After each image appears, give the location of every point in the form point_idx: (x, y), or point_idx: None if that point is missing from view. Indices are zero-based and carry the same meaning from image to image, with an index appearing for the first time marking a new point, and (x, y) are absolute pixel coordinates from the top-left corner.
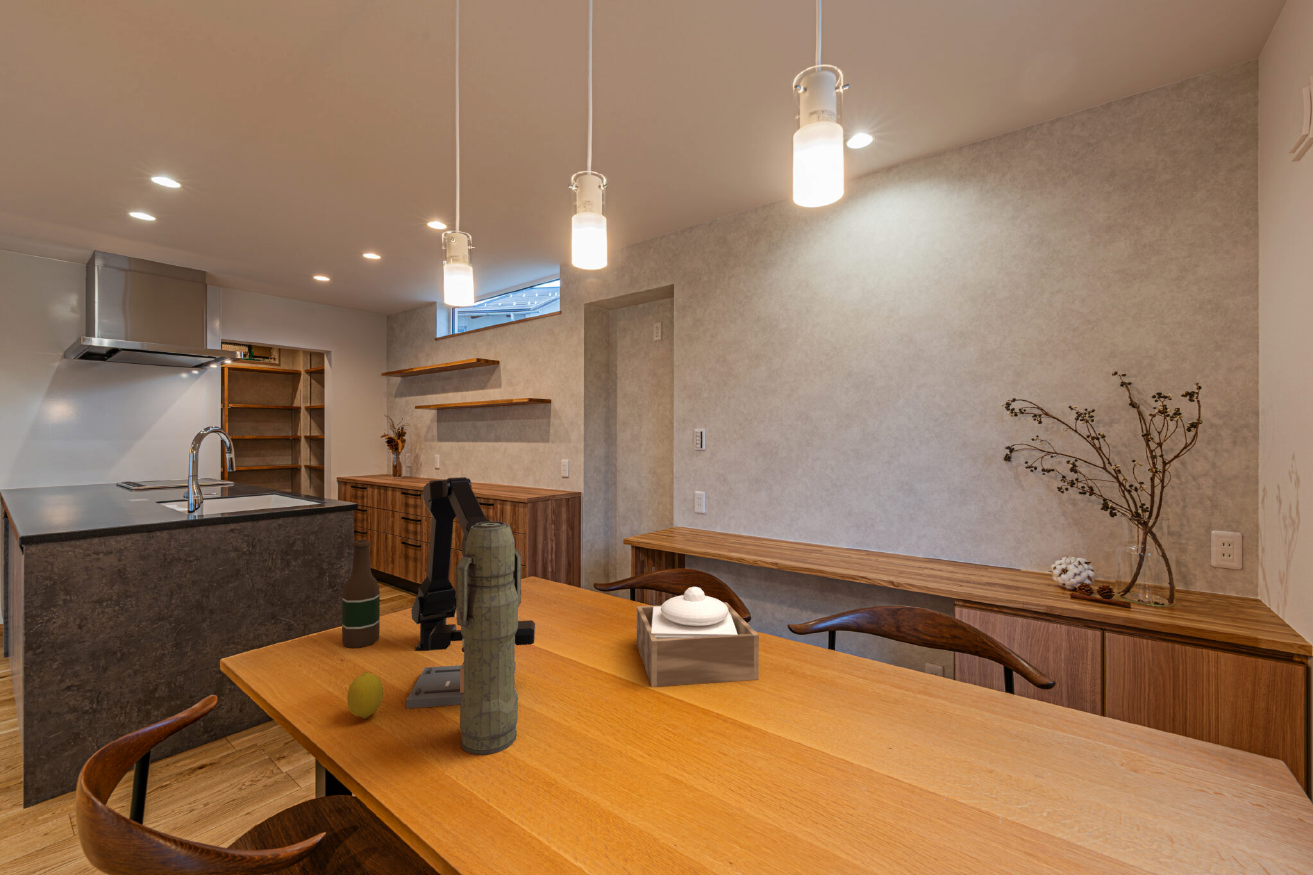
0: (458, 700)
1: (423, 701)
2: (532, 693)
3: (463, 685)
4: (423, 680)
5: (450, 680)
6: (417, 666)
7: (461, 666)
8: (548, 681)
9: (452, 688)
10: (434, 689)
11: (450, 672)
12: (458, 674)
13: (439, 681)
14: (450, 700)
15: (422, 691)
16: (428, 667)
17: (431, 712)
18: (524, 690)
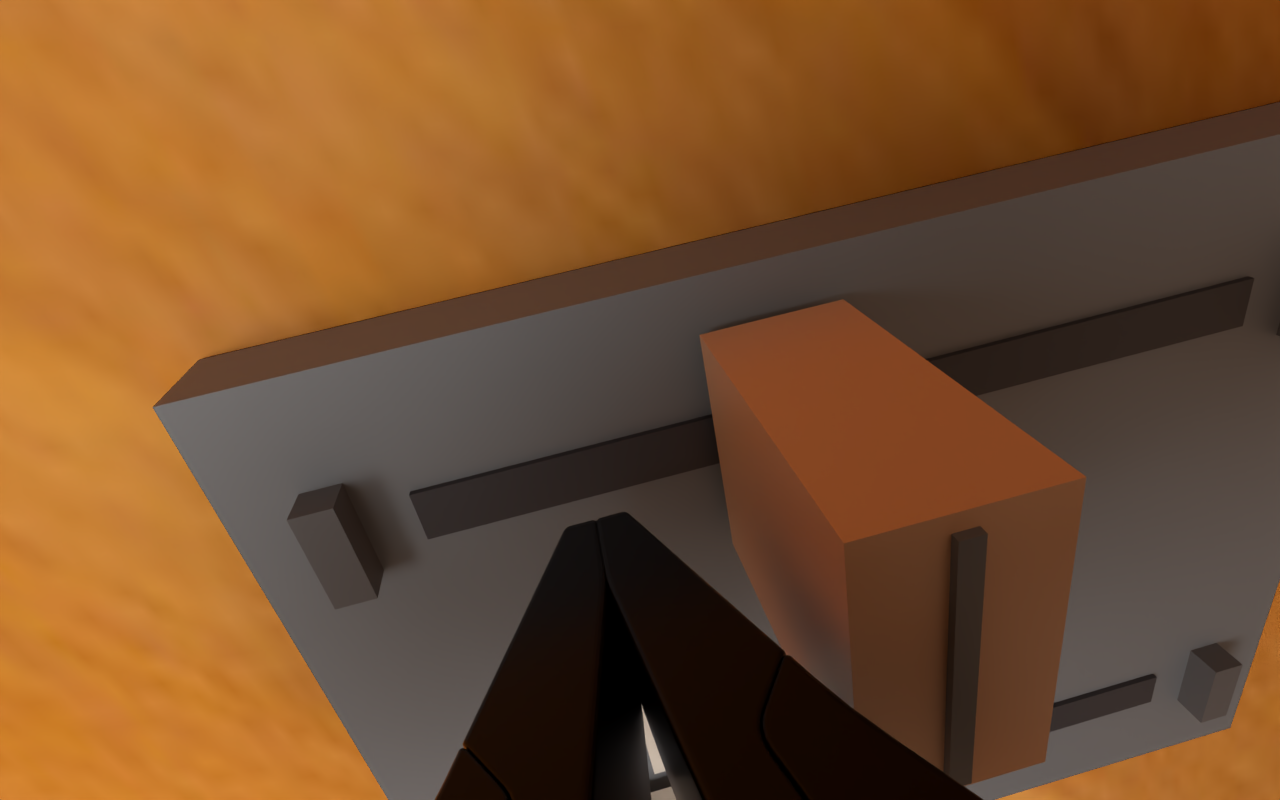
0: (819, 229)
1: (1223, 135)
2: (12, 559)
3: (844, 349)
4: (1245, 538)
5: None
6: (1227, 757)
7: (1066, 586)
8: (6, 792)
9: None
10: (1139, 382)
11: None
12: None
13: (1102, 543)
14: (914, 205)
15: (1258, 326)
16: (1204, 731)
17: (1067, 2)
18: (163, 602)
